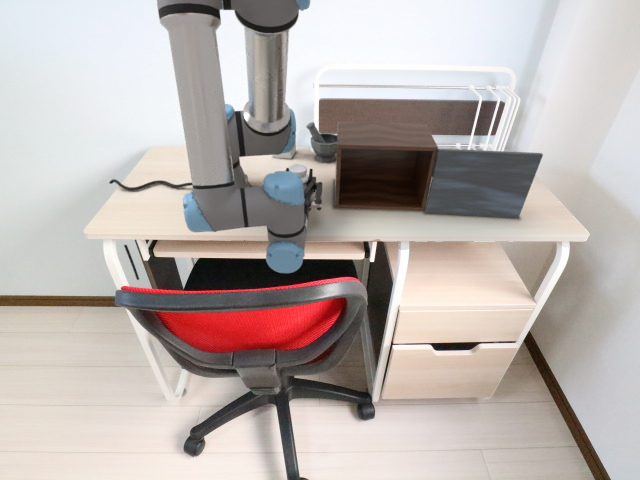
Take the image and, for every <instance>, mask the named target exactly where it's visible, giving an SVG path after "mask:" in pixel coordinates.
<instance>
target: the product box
mask: <svg viewBox="0 0 640 480" xmlns="http://www.w3.org/2000/svg"><path fill="white" fill-rule="evenodd" d="M296 139H297V138H296ZM296 139H295V144H294V147H293V149H292V150H291V151H290V152H288V153H283V154H279V155H273V157H274V158H277V159H280V158H281V159H289V160H291V159H292V158H293V157H294V155H295V154H296V152H297V145H296V144H297V141H296Z"/></svg>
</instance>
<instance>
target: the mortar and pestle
mask: <svg viewBox="0 0 640 480" xmlns="http://www.w3.org/2000/svg"><path fill="white" fill-rule="evenodd" d="M306 129H307V130H308V131H309V133H310V135H311V137H310V145H311V148H312V150H313V152H314V154H315V159H316V160H317V161H318V162H320V163H331V162H334V161H335V160H336V149H337V134H334V133H332V132H331V133H330V132H320V131H319V130H318V128H317V127H316V124H315V122H314V121H311V122H309V123H308V124H307V125H306Z"/></svg>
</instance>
